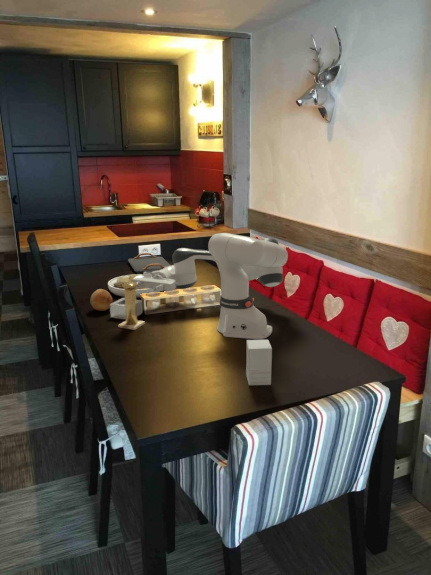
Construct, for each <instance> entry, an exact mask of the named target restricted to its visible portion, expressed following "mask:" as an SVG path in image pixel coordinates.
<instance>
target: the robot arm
mask: <svg viewBox="0 0 431 575" xmlns="http://www.w3.org/2000/svg"><path fill="white" fill-rule="evenodd" d="M207 248H208V249H206V250H205V249H193V248H187V247H181V248H180V247H179V248H177V249H175V250H174V252H173V253H172V255H171V259H172V263H173V264H172V265H171V264H170V265H171V266H168V267H165V268H164V269H161V270H159V271H151V272H142V273H143V274H142V273H141V275H138V276H136V277H134V278H133V279H132V282H135V283H137V287H136V289H138V288H140V287H141V288H149V289H154V291H158V290H163V292H164V291H165V292H172V291H175V289H178V290H179V289H180V290H184V289H189V288H192V287H194V285H196V283H197V281H198V280H197V271H196V264H195V260H206V261H207V260H208V261H209V260H210V261H213V262H215V263H216V265H217V268H218V271H219V274H220V275H219V276H220V294H221V295H220V297H219V308H220V314H219V319H218V324H217V327H216V329H217V331H218V332H219V333H220V334H222V335H223V337H224V338H225V337H226V338H238V339H247V340H265V339H267V338H268V337H269V336H270V335H271V334H272V333H273V326H272V325H268V321H267V317H266V315H265V314H264V313H263V312H262V311H260V310H259V309H258V308H256V306H254V301H255V298H254V297H251V296H250V295H249V289H250V288H249V287H250V285H249V284H250V281H253V280H256V281H258V282H259V283H260V284H261V285H263V286H264V287H269V288H273V287H277V286H278V285H280V284H282V282H283V280H284V274H283V266H285V265H286V264H287V262H288V260H289V258H288V257H289V255H288V253H289V252H288V250H287V249H286V248H285V247H284V246H282V245H281V244H279V241H278V240H277V239H275V238H272V237H265V238H262V239H258V238H255V237H252V236H247V235H239V234H235V233H229V232H220V233H215V234H213V235H211V237H210V238H209V241H208V246H207Z"/></svg>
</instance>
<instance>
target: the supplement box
mask: <svg viewBox="0 0 431 575" xmlns="http://www.w3.org/2000/svg"><path fill="white" fill-rule="evenodd" d="M245 352H246V359H245V360H246V361H245V362H246V364H245V366H246V367H245V368H246V369H245V376H246V379H247V384H248V386H272V367H273V366H272V359H273V348H272V345H271V343H270V341H269V339H246V351H245Z"/></svg>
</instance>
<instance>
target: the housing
mask: <svg viewBox="0 0 431 575" xmlns="http://www.w3.org/2000/svg"><path fill="white" fill-rule="evenodd" d="M136 305H137V317H138V316H140V315H141V314H143V300H141V299H136ZM109 309H110V310H109V312H110V318H113V319H119V320H125V321H126V311H125V297H122V298H119V299H118V300H116V301H114V302H113V301H112V303H111V304H110V307H109Z"/></svg>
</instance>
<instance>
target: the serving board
mask: <svg viewBox="0 0 431 575" xmlns="http://www.w3.org/2000/svg"><path fill="white" fill-rule="evenodd" d="M127 262H128V264H130V267H131V268H132V269H133V271H134V272H135V273H137V274H142V273H144V272H151V271H159V270H161V269H164V268H165V267H168V266H171V264H170V263H169V262H168V261H167V260H166V259H164V257H163V256H156V255H153V254H152V253H151V252H142V253H139V254H137V256H134V257H132V258H128V259H127Z"/></svg>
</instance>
